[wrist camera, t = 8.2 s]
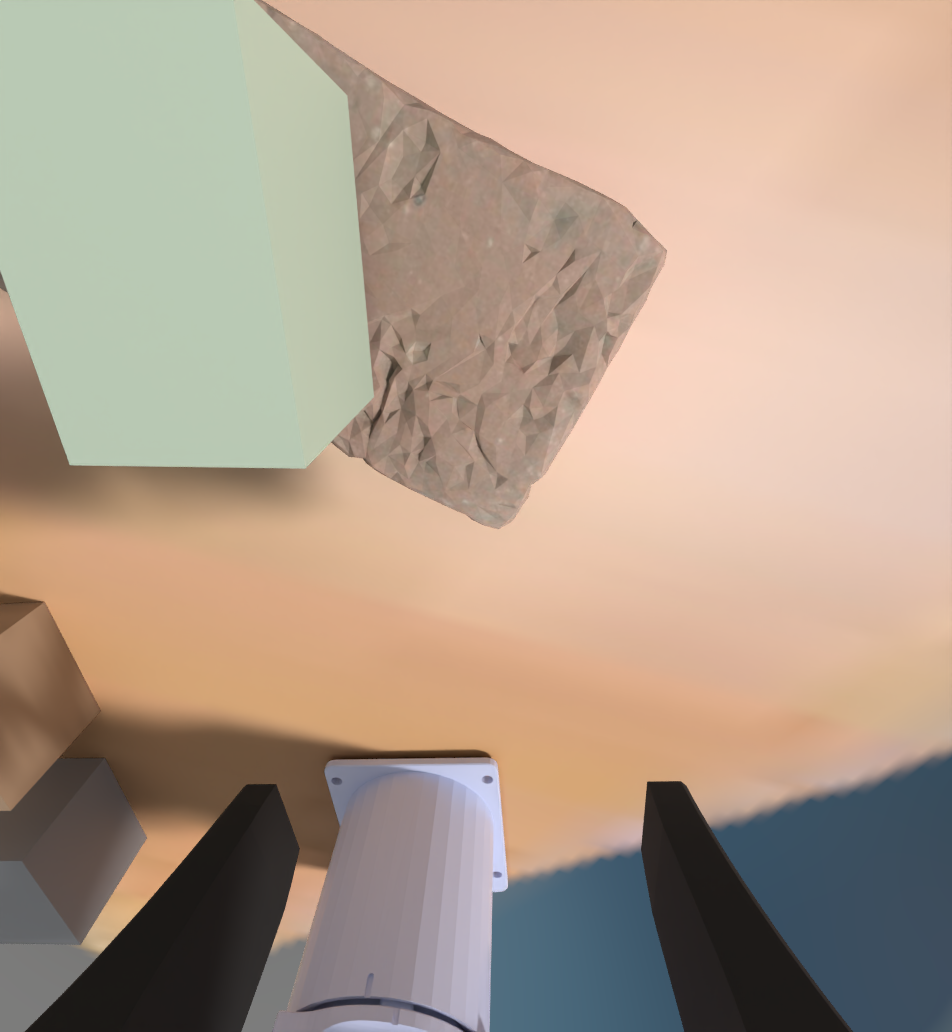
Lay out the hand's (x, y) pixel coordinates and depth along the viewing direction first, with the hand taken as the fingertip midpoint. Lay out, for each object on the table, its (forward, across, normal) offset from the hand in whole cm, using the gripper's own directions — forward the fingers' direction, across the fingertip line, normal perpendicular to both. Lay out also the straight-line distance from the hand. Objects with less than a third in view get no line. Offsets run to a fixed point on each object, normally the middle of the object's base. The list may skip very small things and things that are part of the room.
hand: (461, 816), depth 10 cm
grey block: (+10, +21, +14) cm, 27 cm away
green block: (+6, +4, -10) cm, 12 cm away
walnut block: (+10, +20, +4) cm, 23 cm away
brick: (+11, +4, -10) cm, 16 cm away
